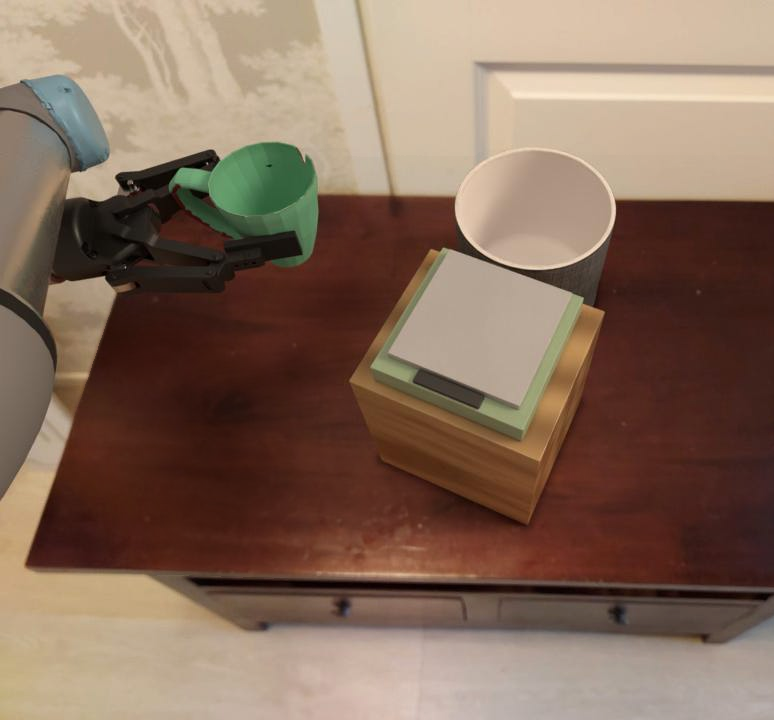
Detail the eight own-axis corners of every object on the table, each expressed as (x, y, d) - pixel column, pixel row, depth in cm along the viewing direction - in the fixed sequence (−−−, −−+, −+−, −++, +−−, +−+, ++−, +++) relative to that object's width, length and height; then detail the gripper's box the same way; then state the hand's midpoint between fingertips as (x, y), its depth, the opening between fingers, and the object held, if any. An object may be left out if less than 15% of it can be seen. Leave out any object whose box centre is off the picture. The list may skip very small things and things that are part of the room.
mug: (347, 219, 71) (327, 145, 62) (323, 291, 66) (298, 221, 57) (217, 207, 72) (180, 132, 63) (184, 276, 67) (139, 206, 58)
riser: (527, 525, 71) (539, 461, 53) (381, 460, 75) (348, 381, 57) (579, 403, 78) (605, 311, 60) (443, 349, 82) (430, 248, 64)
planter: (587, 232, 90) (605, 144, 76) (604, 343, 82) (627, 266, 68) (458, 236, 90) (453, 149, 76) (461, 348, 82) (455, 273, 68)
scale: (521, 441, 54) (523, 426, 51) (374, 380, 57) (368, 362, 54) (580, 312, 60) (585, 292, 57) (444, 262, 63) (442, 241, 60)
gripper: (87, 188, 70) (298, 155, 72) (66, 360, 60) (313, 317, 62) (46, 132, 64) (279, 98, 65) (14, 315, 53) (292, 268, 55)
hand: (295, 204), depth 64 cm, fingers closed on mug, 9 cm apart
